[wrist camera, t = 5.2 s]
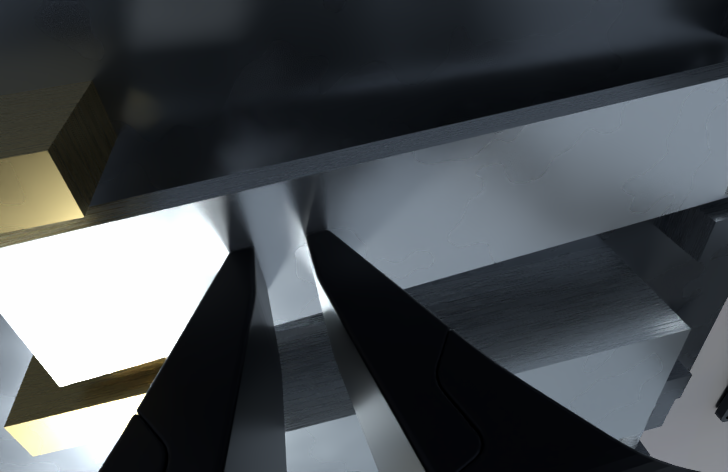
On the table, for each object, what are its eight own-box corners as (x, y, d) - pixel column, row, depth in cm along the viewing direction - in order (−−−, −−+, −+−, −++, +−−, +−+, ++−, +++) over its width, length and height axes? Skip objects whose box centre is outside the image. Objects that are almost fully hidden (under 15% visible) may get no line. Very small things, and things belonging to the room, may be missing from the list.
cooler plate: (849, -156, 10) (1234, -169, 6) (630, 386, 22) (717, 498, 18) (-352, 8, 8) (-944, 152, 4) (125, 520, 19) (99, 684, 16)
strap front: (780, 43, 10) (835, 58, 9) (727, 170, 12) (769, 193, 11) (-24, 224, 7) (-51, 270, 7) (68, 350, 9) (57, 398, 8)
